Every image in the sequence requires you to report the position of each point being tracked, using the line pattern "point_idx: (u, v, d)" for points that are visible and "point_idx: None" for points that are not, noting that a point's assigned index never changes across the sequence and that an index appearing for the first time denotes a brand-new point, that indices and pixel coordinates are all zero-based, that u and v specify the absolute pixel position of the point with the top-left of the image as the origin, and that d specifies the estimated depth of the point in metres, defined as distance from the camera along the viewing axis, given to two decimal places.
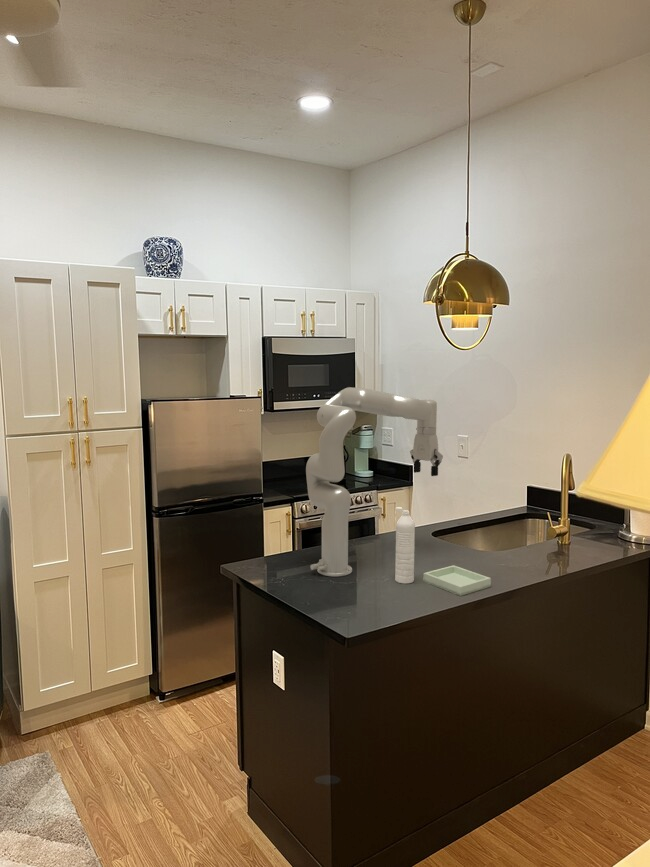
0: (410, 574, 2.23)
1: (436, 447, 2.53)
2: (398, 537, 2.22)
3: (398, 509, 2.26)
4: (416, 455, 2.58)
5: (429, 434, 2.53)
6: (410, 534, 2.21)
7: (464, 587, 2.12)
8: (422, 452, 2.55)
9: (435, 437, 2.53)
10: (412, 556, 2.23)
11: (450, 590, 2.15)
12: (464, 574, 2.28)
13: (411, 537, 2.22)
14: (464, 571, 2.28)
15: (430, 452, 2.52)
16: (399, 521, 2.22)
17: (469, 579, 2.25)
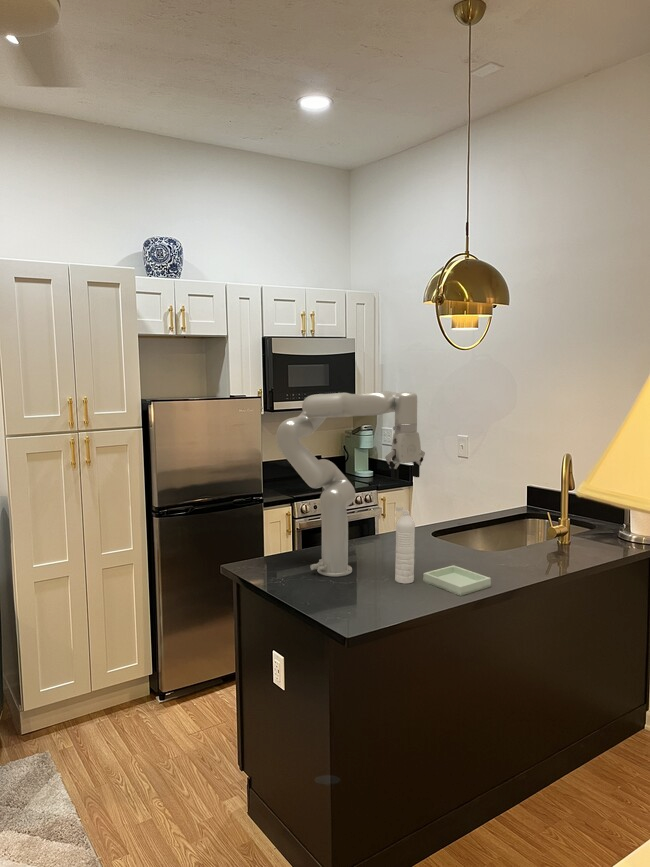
0: (410, 574, 2.23)
1: None
2: (398, 537, 2.22)
3: (398, 509, 2.26)
4: (405, 458, 2.18)
5: None
6: (410, 534, 2.21)
7: (464, 587, 2.12)
8: (412, 452, 2.20)
9: None
10: (412, 556, 2.23)
11: (450, 590, 2.15)
12: (464, 574, 2.28)
13: (411, 537, 2.22)
14: (464, 571, 2.28)
15: (420, 450, 2.23)
16: (399, 521, 2.22)
17: (469, 579, 2.25)
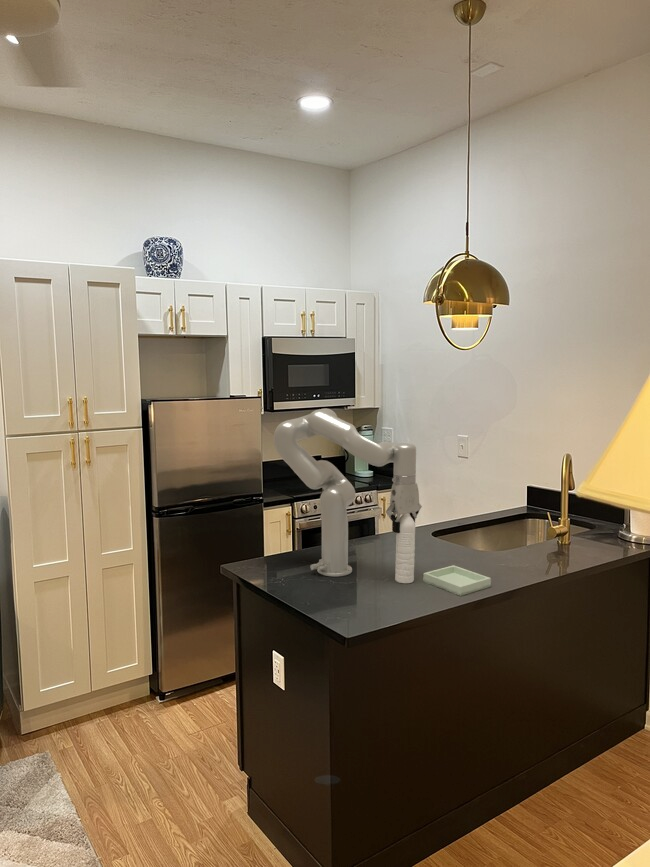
0: (410, 574, 2.23)
1: None
2: (398, 537, 2.22)
3: None
4: (404, 510, 2.20)
5: None
6: (410, 534, 2.21)
7: (464, 587, 2.12)
8: (411, 503, 2.22)
9: None
10: (412, 556, 2.23)
11: (450, 590, 2.15)
12: (464, 574, 2.28)
13: (411, 537, 2.22)
14: (464, 571, 2.28)
15: (418, 501, 2.25)
16: (400, 521, 2.22)
17: (469, 579, 2.25)
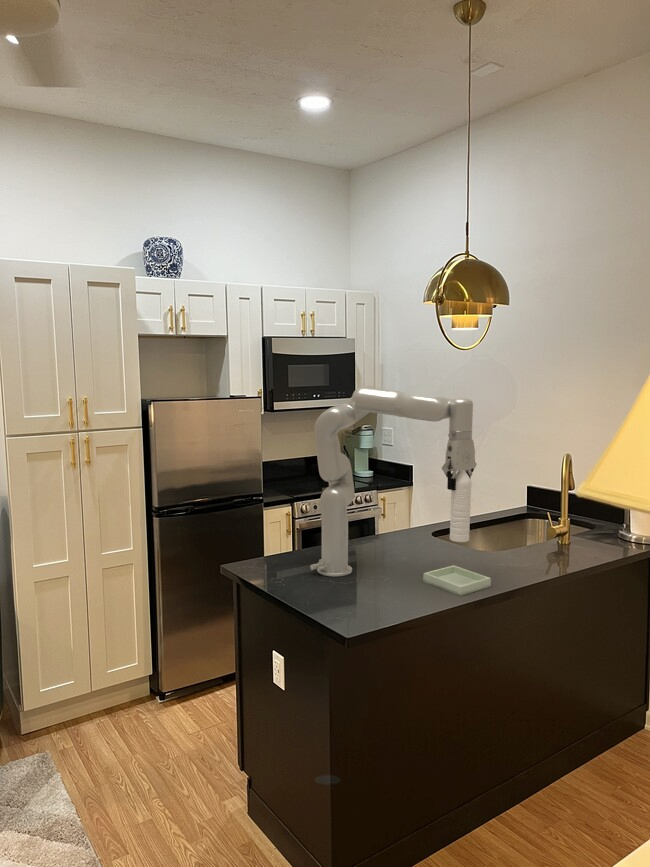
0: (466, 532, 2.17)
1: None
2: (454, 494, 2.16)
3: None
4: (460, 466, 2.14)
5: None
6: (466, 491, 2.15)
7: (464, 587, 2.12)
8: (467, 460, 2.16)
9: None
10: (468, 514, 2.17)
11: (450, 590, 2.15)
12: (464, 574, 2.28)
13: (468, 494, 2.16)
14: (464, 571, 2.28)
15: (474, 458, 2.19)
16: (455, 478, 2.16)
17: (469, 579, 2.25)
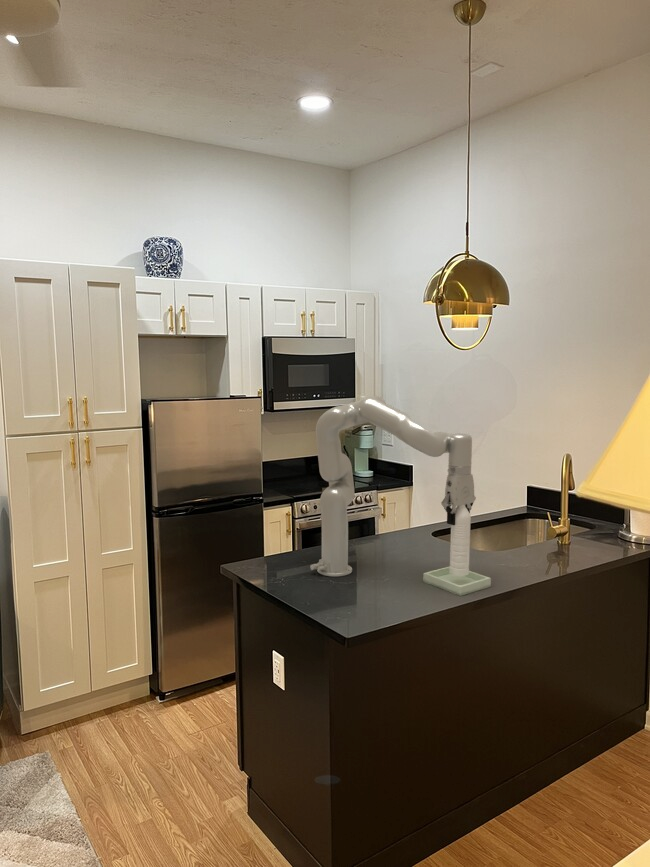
0: (466, 567, 2.18)
1: None
2: (454, 529, 2.18)
3: None
4: (459, 501, 2.16)
5: None
6: (466, 526, 2.16)
7: (464, 587, 2.12)
8: (466, 495, 2.17)
9: None
10: (468, 548, 2.18)
11: (450, 590, 2.15)
12: None
13: (467, 529, 2.17)
14: None
15: (473, 492, 2.20)
16: (455, 512, 2.18)
17: (469, 579, 2.25)
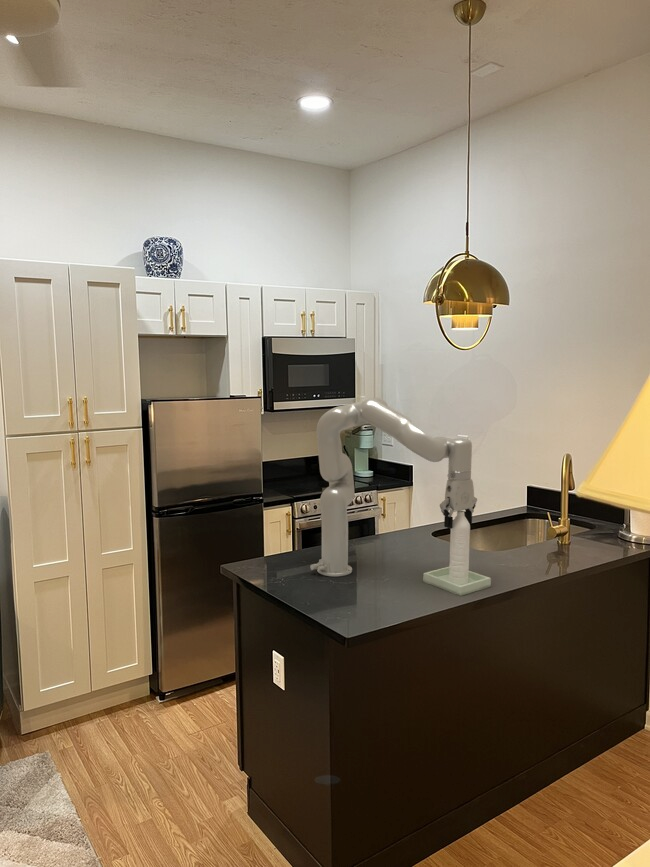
0: (465, 576, 2.19)
1: None
2: (453, 538, 2.18)
3: None
4: (459, 506, 2.16)
5: None
6: (465, 535, 2.17)
7: (464, 587, 2.12)
8: (466, 500, 2.17)
9: None
10: (467, 558, 2.18)
11: (450, 590, 2.15)
12: None
13: (466, 538, 2.17)
14: None
15: (473, 497, 2.20)
16: (454, 522, 2.18)
17: (469, 579, 2.25)
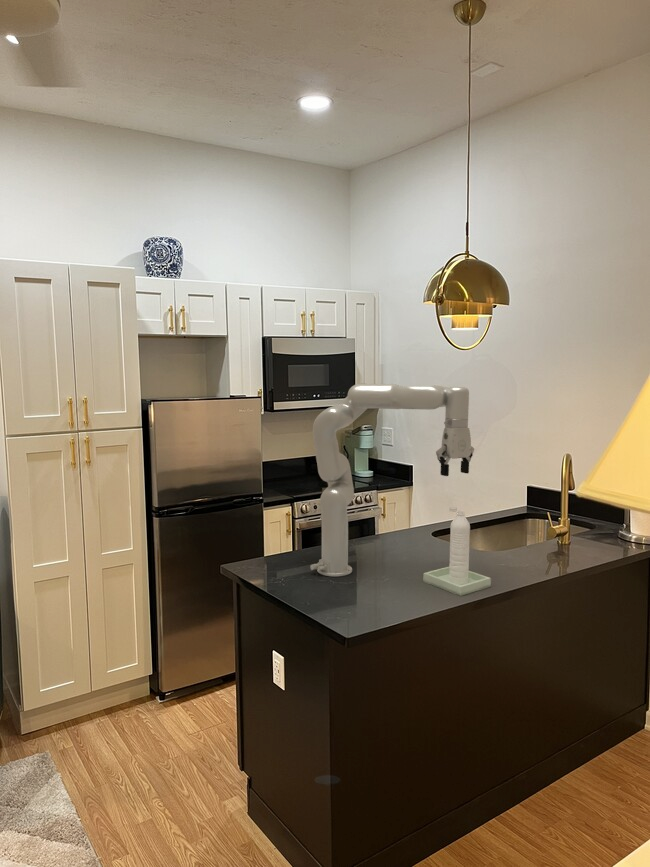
0: (465, 576, 2.19)
1: None
2: (453, 538, 2.18)
3: (452, 510, 2.22)
4: (456, 454, 2.15)
5: None
6: (465, 535, 2.17)
7: (464, 587, 2.12)
8: (463, 448, 2.17)
9: None
10: (467, 557, 2.19)
11: (450, 590, 2.15)
12: None
13: (466, 538, 2.17)
14: None
15: (470, 446, 2.19)
16: (454, 522, 2.18)
17: (469, 579, 2.25)
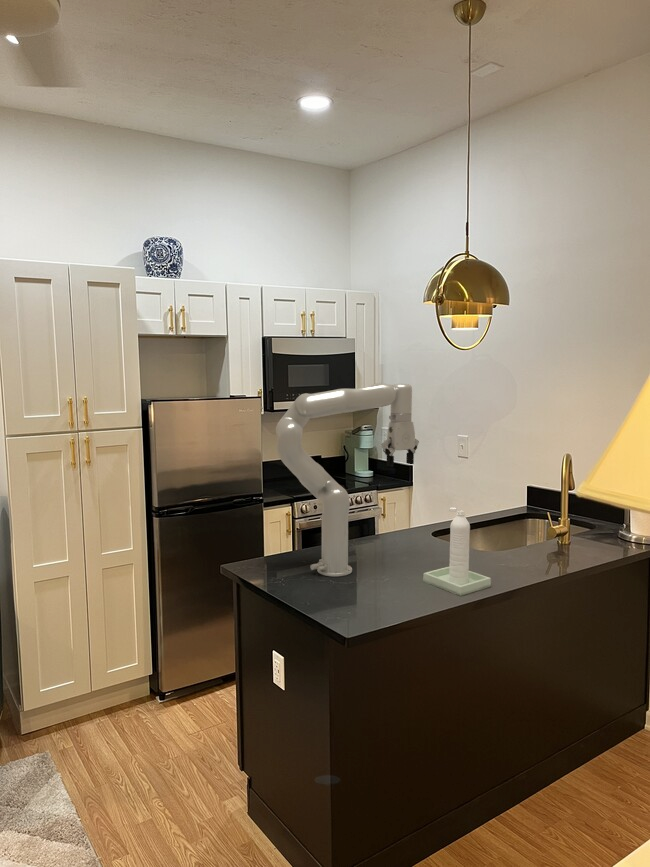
0: (465, 576, 2.19)
1: None
2: (453, 538, 2.18)
3: (452, 510, 2.22)
4: (400, 446, 2.32)
5: None
6: (465, 535, 2.17)
7: (464, 587, 2.12)
8: (407, 440, 2.33)
9: None
10: (467, 557, 2.18)
11: (450, 590, 2.15)
12: None
13: (466, 538, 2.17)
14: None
15: (414, 439, 2.36)
16: (454, 522, 2.18)
17: (469, 579, 2.25)
